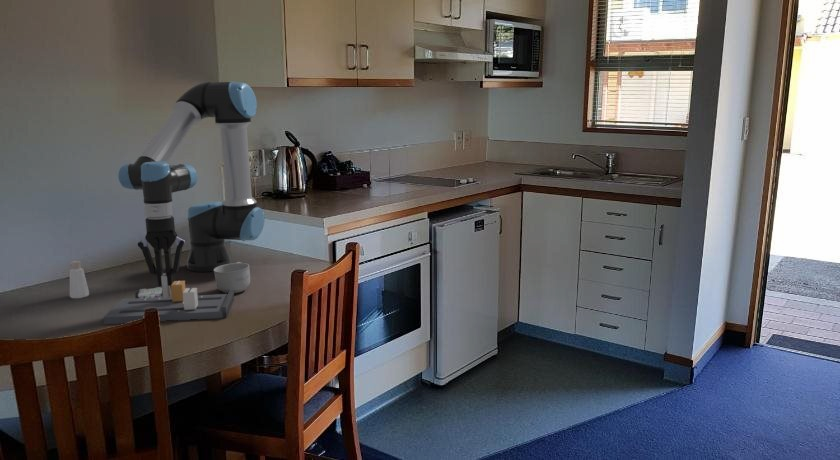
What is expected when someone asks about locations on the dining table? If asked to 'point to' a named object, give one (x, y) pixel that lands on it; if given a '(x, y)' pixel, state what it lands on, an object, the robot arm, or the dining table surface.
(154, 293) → the smartphone
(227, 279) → the teacup
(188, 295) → the fader ivory
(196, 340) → the dining table surface
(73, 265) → the salt shaker
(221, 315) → the console
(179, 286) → the fader orange
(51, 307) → the dining table surface
